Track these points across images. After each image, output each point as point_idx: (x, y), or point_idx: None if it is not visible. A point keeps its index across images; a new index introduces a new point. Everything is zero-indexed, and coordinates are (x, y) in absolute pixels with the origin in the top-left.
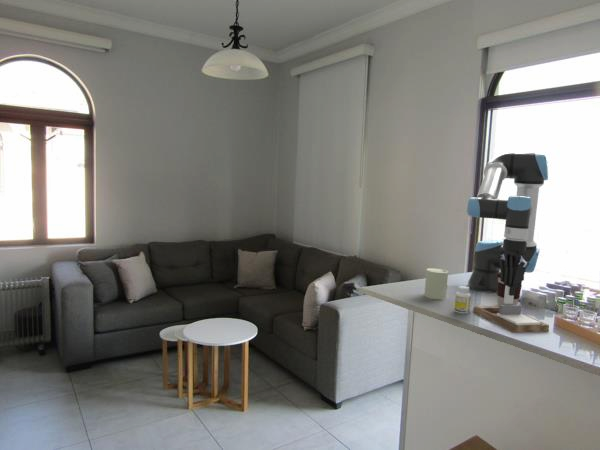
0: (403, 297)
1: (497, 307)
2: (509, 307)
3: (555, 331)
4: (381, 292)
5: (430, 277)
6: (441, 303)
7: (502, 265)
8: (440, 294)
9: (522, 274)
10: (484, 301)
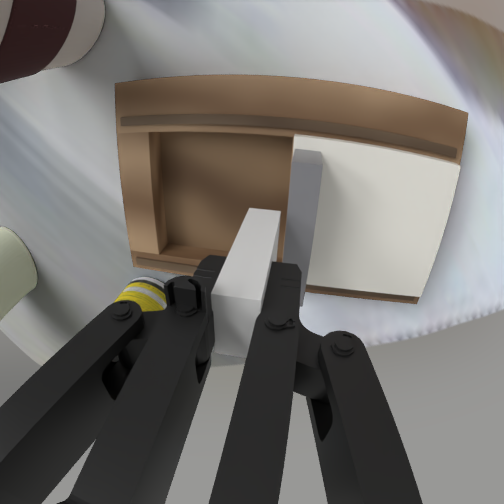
0: (54, 346)
1: (142, 153)
2: (310, 257)
3: (459, 73)
4: (38, 359)
5: None
6: (71, 292)
7: (52, 486)
8: (23, 276)
9: (405, 501)
10: (20, 97)
